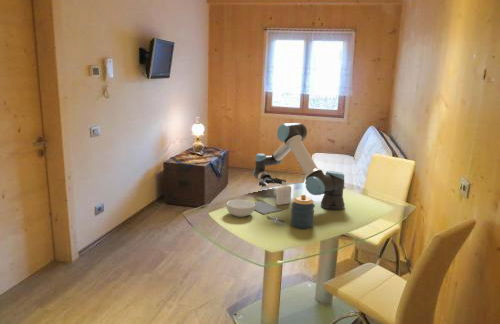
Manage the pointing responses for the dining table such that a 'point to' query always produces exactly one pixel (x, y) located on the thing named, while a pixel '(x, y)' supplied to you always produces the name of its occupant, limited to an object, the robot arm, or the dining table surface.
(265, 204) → the mat
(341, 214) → the dining table surface
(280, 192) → the beige rounded block
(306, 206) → the canister
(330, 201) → the robot arm
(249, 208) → the cereal bowl
